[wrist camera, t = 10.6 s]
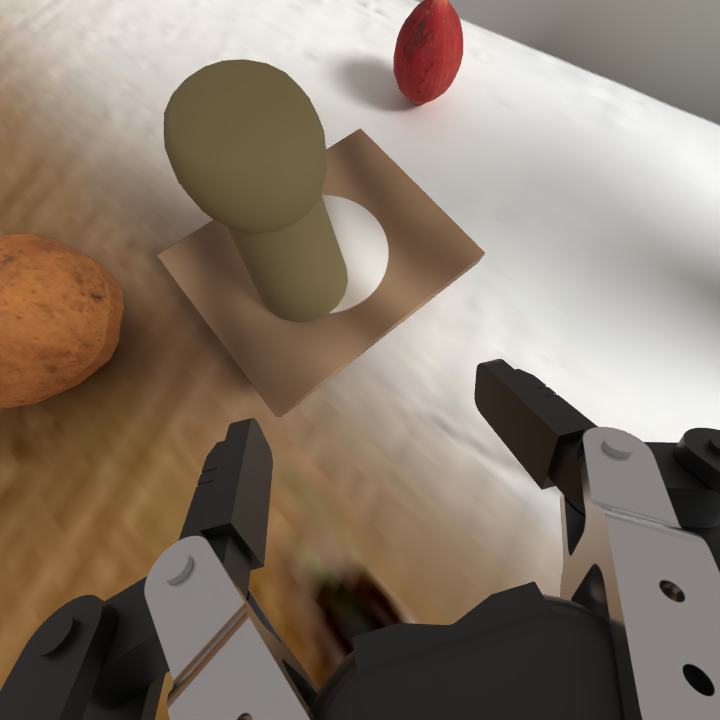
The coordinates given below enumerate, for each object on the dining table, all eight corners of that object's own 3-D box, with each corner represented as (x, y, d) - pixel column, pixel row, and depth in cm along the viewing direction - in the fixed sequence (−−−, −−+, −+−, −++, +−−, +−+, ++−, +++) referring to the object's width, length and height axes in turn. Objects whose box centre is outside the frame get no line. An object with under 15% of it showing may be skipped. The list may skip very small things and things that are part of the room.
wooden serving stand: (359, 174, 27) (360, 123, 22) (463, 282, 24) (487, 249, 20) (190, 284, 24) (153, 252, 19) (290, 418, 22) (274, 416, 17)
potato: (177, 314, 23) (97, 262, 16) (77, 435, 21) (-70, 440, 14) (92, 258, 24) (-21, 187, 17) (-13, 369, 22) (-196, 341, 15)
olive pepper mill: (237, 284, 19) (77, 110, 8) (299, 221, 20) (228, -10, 9) (306, 340, 18) (230, 232, 7) (366, 273, 19) (377, 89, 8)
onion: (416, 136, 28) (440, 23, 20) (377, 100, 29) (385, -22, 21) (459, 106, 29) (497, -13, 21) (419, 72, 30) (442, -54, 22)
